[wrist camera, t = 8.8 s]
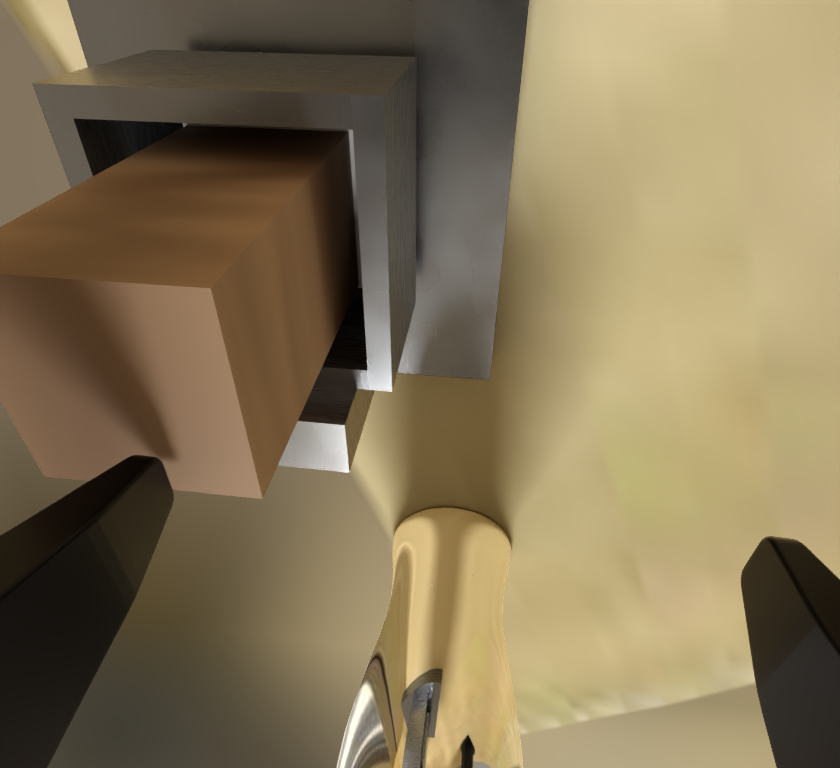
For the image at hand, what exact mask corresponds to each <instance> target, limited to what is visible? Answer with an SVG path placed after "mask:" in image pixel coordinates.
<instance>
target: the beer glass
mask: <svg viewBox="0 0 840 768" xmlns="http://www.w3.org/2000/svg"><path fill="white" fill-rule="evenodd" d="M510 560H511V545H510V542H509V539H508V537H507V535H506V534H505V532H504V531H503V530H502V529H501V528H500V527H499V526H498V525H497V524H496V523H494V522H493V521H491V520H490V519H488V518H486V517H484V516H482V515H480V514H478V513H475V512H472V511H468V510H464V509H458V508H432V509H427V510H423V511H420V512H417V513H415V514H413V515H411V516H409V517H408V518H406V519H405V520H404V521H403V522H402V523H401V524H400V525H399V526H398V528H397V530H396V532H395V534H394V539H393V585H392V593H391V599H390V603H389V607H388V611H387V615H386V618H385V621H384V623H383V626H382V629H381V632H380V635H379V637H378V640H377V643H376V645H375V648H374V650H373V653H372V656H371V658H370V661H369V663H368V666H367V669H366V671H365V674H364V677H363V680H362V682H361V685H360V688H359V690H358V693H357V696H356V699H355V702H354V705H353V708H352V712H351V714H350V718H349V721H348V724H347V727H346V730H345V734H344V738H343V742H342V746H341V750H340V754H339V759H338V763H337V767H336V768H523V758H522V750H521V741H520V733H519V724H518V717H517V711H516V705H515V699H514V692H513V686H512V680H511V675H510V669H509V663H508V658H507V652H506V645H505V638H504V631H503V614H502V611H503V596H504V589H505V584H506V580H507V575H508V571H509V566H510Z"/></svg>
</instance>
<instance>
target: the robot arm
mask: <svg viewBox="0 0 840 768" xmlns="http://www.w3.org/2000/svg"><path fill="white" fill-rule="evenodd" d="M173 500H174V493H173V489H172V486H171V483H170V481H169V478H168V475H167V473H166V470H165V467H164V465H163V462H162V461H161V460H160V459H159V458H157V457H152V456H144V455H132V456H130V457H128V458H126V459H124V460H123V461H121V462H119V463H118V464H116V465H114V466H113V467H111V468H110V469H108V470H106V471H105V472H103V473H101V474H100V475H98V476H96V477H95V478H93V479H92V480H90V481H88V482H87V483H85V484H83V485H82V486H80V487H79V488H77V489H75V490H74V491H72V492H71V493H69V494H67V495H65V496H64V497H62V498H61V499H59V500H57V501H56V502H54V503H52V504H51V505H49V506H48V507H46V508H44V509H43V510H41V511H39V512H38V513H36V514H34V515H33V516H31V517H30V518H28V519H26V520H25V521H23V522H21V523H20V524H18V525H17V526H15V527H13V528H12V529H10V530H8V531H7V532H5V533H3V534H2V535H0V768H47V767H48V765H49V764H50V762H51V760H52V758H53V756H54V754H55V752H56V750H57V748H58V746H59V744H60V742H61V740H62V738H63V737H64V734H65V733H66V731H67V729H68V727H69V725H70V723H71V721H72V719H73V717H74V715H75V713H76V711H77V710H78V708H79V706H80V704H81V702H82V700H83V698H84V696H85V694H86V692H87V690H88V688H89V686H90V685H91V683H92V681H93V679H94V677H95V675H96V673H97V671H98V669H99V667H100V666H101V664H102V662H103V660H104V658H105V656H106V654H107V652H108V650H109V648H110V646H111V644H112V642H113V640H114V639H115V637H116V635H117V633H118V631H119V629H120V627H121V625H122V623H123V621H124V619H125V618H126V616H127V614H128V612H129V610H130V608H131V606H132V604H133V602H134V600H135V598H136V595H137V593H138V591H139V589H140V586H141V584H142V582H143V579H144V577H145V574H146V572H147V569H148V567H149V564H150V562H151V559H152V556H153V554H154V552H155V549H156V546H157V544H158V541H159V539H160V536H161V534H162V531H163V529H164V526H165V524H166V521H167V518H168V516H169V513H170V511H171V508H172V505H173ZM741 588H742V595H743V602H744V609H745V615H746V622H747V629H748V636H749V643H750V649H751V656H752V663H753V670H754V676H755V682H756V687H757V692H758V697H759V701H760V705H761V709H762V713H763V717H764V721H765V725H766V729H767V732H768V736H769V740H770V744H771V748H772V752H773V755H774V759H775V763H776V767H777V768H840V579H839V578H838V577H837V576H836V575H835V574H834V573H832V572H831V571H830V570H829V569H828V568H827V567H826V566H825V565H824V564H823V563H822V562H821V561H820V560H819V559H818V558H817V557H816V556H815V555H814V554H813V553H812V552H811V551H810V550H809V549H808V548H807V547H806V546H805V545H803V544H802V543H801V542H799V541H797V540H794V539H788V538H781V537H773V536H768V537H766V538H764V539H762V540H761V542H760V543H759V545H758V546H757V548H756V549H755V551H754V553H753V554H752V556H751V557H750V559H749V560H748V562H747V563H746V565H745V567H744V569H743V571H742V575H741Z"/></svg>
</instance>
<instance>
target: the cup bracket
mask: <svg viewBox="0 0 840 768" xmlns="http://www.w3.org/2000/svg"><path fill="white" fill-rule="evenodd" d="M67 1H68V4H69V7H70V10H71V14H72V17H73V20H74V23H75V26H76V30H77V33H78V36H79V39H80V43H81V46H82V49H83V52H84V55H85V59H86V62H87V65H88V68H85V69H82V70H78V71H74V72H71V73H67V74H64V75H60V76H57V77H53V78H50V79H46V80H43V81H39V82H35V83H33V87H34V89H35V92H36V95H37V98H38V100H39V103H40V105H41V108H42V111H43V114H44V116H45V119H46V122H47V125H48V127H49V130H50V133H51V135H52V138H53V141H54V144H55V146H56V149H57V151H58V154H59V157H60V159H61V162H62V165H63V168H64V170H65V173H66V176H67V179H68V181H69V184H70V187H71V188H73V187H75V186H77V185H78V184H80V183H82V182H84V181H86V180H88V179H89V178H91V177H93V176H95V175H97V174H99V173H100V172H102V171H104V170H106V169H108V168H109V167H111V166H113V165H115V164H117V163H119V162H120V161H122V160H124V159H126V158H128V157H130V156H131V155H133V154H135V153H137V152H139V151H141V150H142V149H144V148H146V147H148V146H150V145H152V144H153V143H155V142H157V141H159V140H161V139H163V138H164V137H166V136H168V135H170V134H172V133H174V132H175V131H177V130H179V129H181V128H183V123H198V124H223V125H248V126H273V127H297V128H322V129H347V130H353V142H354V158H355V174H356V190H357V207H358V223H359V239H360V255H361V271H362V288H357V290H356V292H355V294H354V297H353V299H352V301H351V303H350V306H349V308H348V310H347V312H346V315H345V317H344V319H343V321H342V323H341V326H340V328H339V330H338V332H337V335H336V337H335V339H334V341H333V343H332V346H331V348H330V350H329V352H328V355H327V357H326V359H325V361H324V364H323V366H322V368H321V370H320V372H319V375H318V377H317V379H316V381H315V384H314V386H313V388H312V390H311V392H310V395H309V397H308V399H307V401H306V404H305V406H304V408H303V410H302V413H301V415H300V417H299V419H298V421H297V424H296V426H295V428H294V430H293V433H292V435H291V437H290V439H289V441H288V444H287V446H286V448H285V450H284V453H283V455H282V457H281V459H280V462H279V464H278V466H289V467H299V468H309V469H320V470H329V471H339V472H350V469H351V465H352V462H353V459H354V456H355V452H356V449H357V446H358V443H359V439H360V436H361V433H362V429H363V426H364V423H365V420H366V416H367V413H368V410H369V407H370V403H371V400H372V397H373V394H374V390H377V391H389V392H392V390H393V386H394V383H395V379H396V375H397V373H406V374H419V375H431V376H443V377H456V378H468V379H480V380H490V371H491V362H492V352H493V343H494V333H495V323H496V314H497V304H498V294H499V285H500V275H501V266H502V256H503V246H504V237H505V227H506V217H507V208H508V198H509V189H510V179H511V169H512V160H513V150H514V140H515V131H516V121H517V112H518V102H519V92H520V83H521V73H522V63H523V54H524V44H525V35H526V25H527V15H528V6H529V0H67Z"/></svg>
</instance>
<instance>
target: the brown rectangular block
mask: <svg viewBox="0 0 840 768" xmlns="http://www.w3.org/2000/svg"><path fill="white" fill-rule="evenodd" d="M357 288H362V271H361V255H360V239H359V223H358V207H357V190H356V174H355V158H354V142H353V130H347V129H322V128H297V127H273V126H248V125H223V124H198V123H183V128H181V129H179V130H177V131H175V132H174V133H172V134H170V135H168V136H166V137H164V138H163V139H161V140H159V141H157V142H155V143H153V144H152V145H150V146H148V147H146V148H144V149H142V150H141V151H139V152H137V153H135V154H133V155H131V156H130V157H128V158H126V159H124V160H122V161H120V162H119V163H117V164H115V165H113V166H111V167H109V168H108V169H106V170H104V171H102V172H100V173H99V174H97V175H95V176H93V177H91V178H89V179H88V180H86V181H84V182H82V183H80V184H78V185H77V186H75V187H73V188H71V189H69V190H67V191H66V192H64V193H62V194H60V195H58V196H56V197H55V198H53V199H51V200H49V201H47V202H45V203H44V204H42V205H40V206H38V207H36V208H34V209H33V210H31V211H29V212H27V213H25V214H23V215H22V216H20V217H18V218H16V219H14V220H13V221H11V222H9V223H7V224H5V225H3V226H2V227H0V401H1V402H2V404H3V406H4V407H5V409H6V411H7V413H8V414H9V416H10V418H11V420H12V421H13V423H14V425H15V427H16V428H17V430H18V432H19V434H20V435H21V437H22V439H23V440H24V442H25V444H26V446H27V447H28V449H29V451H30V452H31V454H32V456H33V458H34V459H35V461H36V462H37V464H38V466H39V468H40V470H41V471H42V473H43V475H44V476H48V477H57V478H67V479H77V480H86V481H90V480H92V479H93V478H95V477H96V476H98V475H100V474H101V473H103V472H105V471H106V470H108V469H110V468H111V467H113V466H114V465H116V464H118V463H119V462H121V461H123V460H124V459H126V458H128V457H130V456H132V455H144V456H152V457H157V458H159V459H160V460H161V461H162V462H163V465H164V467H165V470H166V473H167V475H168V478H169V481H170V483H171V486H172V489H173V490H183V491H191V492H201V493H211V494H220V495H230V496H239V497H249V498H258V499H263V497H264V495H265V493H266V490H267V488H268V486H269V484H270V482H271V479H272V477H273V475H274V473H275V470H276V468H277V466H278V464H279V462H280V459H281V457H282V455H283V453H284V450H285V448H286V446H287V444H288V441H289V439H290V437H291V435H292V433H293V430H294V428H295V426H296V424H297V421H298V419H299V417H300V415H301V413H302V410H303V408H304V406H305V404H306V401H307V399H308V397H309V395H310V392H311V390H312V388H313V386H314V384H315V381H316V379H317V377H318V375H319V372H320V370H321V368H322V366H323V364H324V361H325V359H326V357H327V355H328V352H329V350H330V348H331V346H332V343H333V341H334V339H335V337H336V335H337V332H338V330H339V328H340V326H341V323H342V321H343V319H344V317H345V315H346V312H347V310H348V308H349V306H350V303H351V301H352V299H353V297H354V294H355V292H356V290H357Z"/></svg>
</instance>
